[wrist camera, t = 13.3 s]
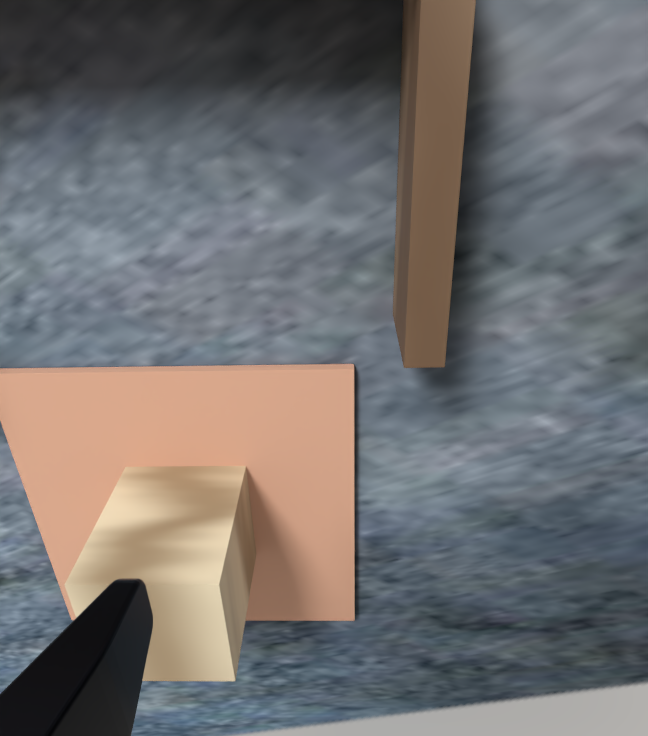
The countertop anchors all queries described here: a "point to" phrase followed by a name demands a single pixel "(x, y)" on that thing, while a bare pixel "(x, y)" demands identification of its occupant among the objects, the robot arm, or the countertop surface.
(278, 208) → the countertop surface
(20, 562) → the countertop surface
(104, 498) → the mat
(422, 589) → the countertop surface
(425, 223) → the open side box
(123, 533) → the maple block
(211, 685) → the countertop surface
